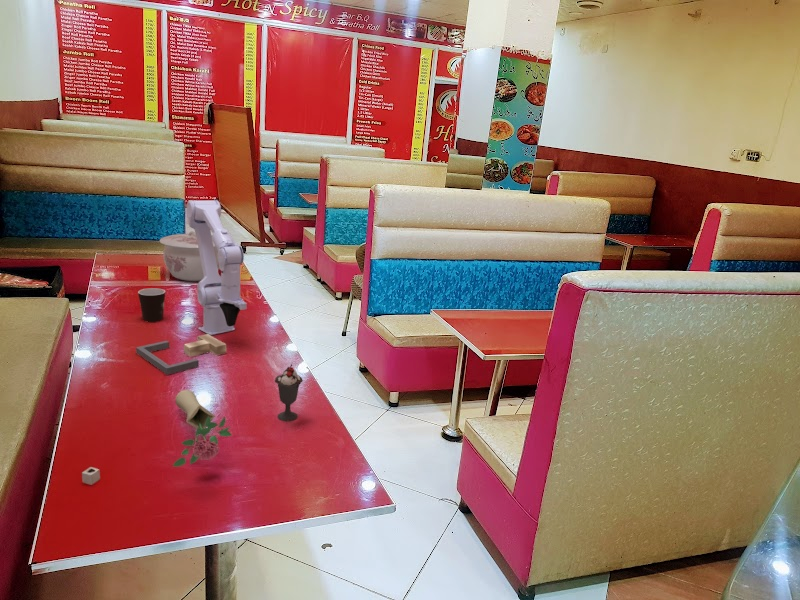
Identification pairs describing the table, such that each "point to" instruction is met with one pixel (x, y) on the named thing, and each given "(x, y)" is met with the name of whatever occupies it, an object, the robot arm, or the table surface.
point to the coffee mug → (152, 304)
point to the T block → (205, 346)
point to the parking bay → (160, 364)
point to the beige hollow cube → (90, 475)
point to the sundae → (288, 392)
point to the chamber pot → (184, 256)
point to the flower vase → (199, 428)
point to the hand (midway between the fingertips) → (231, 325)
